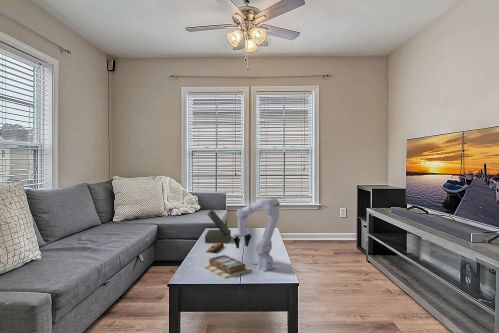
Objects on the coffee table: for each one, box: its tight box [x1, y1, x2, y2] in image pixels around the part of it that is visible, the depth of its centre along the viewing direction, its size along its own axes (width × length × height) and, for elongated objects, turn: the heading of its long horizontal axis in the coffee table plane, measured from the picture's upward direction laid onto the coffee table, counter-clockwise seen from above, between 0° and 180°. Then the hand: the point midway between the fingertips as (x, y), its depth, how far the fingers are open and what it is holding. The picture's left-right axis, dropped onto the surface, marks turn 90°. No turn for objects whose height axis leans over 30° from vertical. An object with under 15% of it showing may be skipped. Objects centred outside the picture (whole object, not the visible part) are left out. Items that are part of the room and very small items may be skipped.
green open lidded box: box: [204, 208, 232, 244], centre depth 251 cm, size 23×20×25 cm
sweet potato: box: [205, 242, 225, 254], centre depth 223 cm, size 18×7×7 cm, turn 166°
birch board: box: [202, 263, 252, 279], centre depth 182 cm, size 24×20×1 cm
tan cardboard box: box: [208, 254, 246, 274], centre depth 182 cm, size 22×12×4 cm, turn 39°
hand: (242, 247), depth 196 cm, fingers open, 7 cm apart
